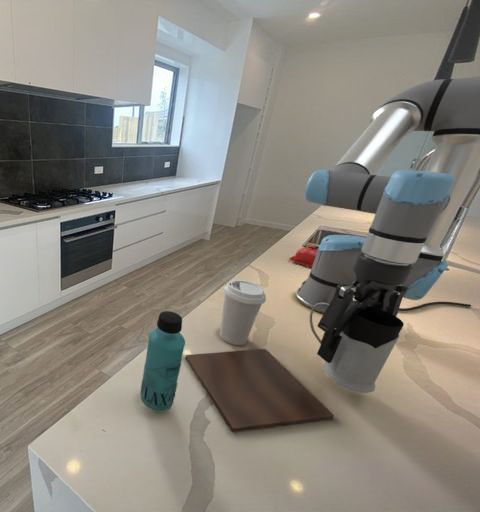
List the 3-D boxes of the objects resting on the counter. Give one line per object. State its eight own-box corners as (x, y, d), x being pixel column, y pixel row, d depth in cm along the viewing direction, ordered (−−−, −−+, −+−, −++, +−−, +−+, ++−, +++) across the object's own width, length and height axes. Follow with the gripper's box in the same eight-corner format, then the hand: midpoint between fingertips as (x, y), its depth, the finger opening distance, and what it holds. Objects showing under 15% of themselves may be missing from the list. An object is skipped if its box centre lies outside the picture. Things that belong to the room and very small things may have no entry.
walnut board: (264, 351, 74) (265, 348, 73) (332, 419, 56) (334, 415, 56) (185, 358, 70) (185, 355, 70) (232, 432, 53) (233, 428, 52)
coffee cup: (220, 322, 85) (231, 274, 79) (256, 336, 79) (271, 286, 74) (208, 337, 78) (220, 286, 72) (247, 354, 72) (263, 301, 67)
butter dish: (296, 256, 139) (301, 239, 135) (325, 264, 130) (332, 246, 127) (286, 261, 132) (292, 243, 128) (317, 271, 124) (323, 252, 120)
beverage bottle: (131, 403, 57) (142, 315, 50) (152, 385, 62) (164, 301, 54) (160, 425, 53) (176, 333, 46) (179, 404, 58) (197, 317, 50)
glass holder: (369, 400, 57) (404, 335, 51) (288, 358, 67) (310, 300, 61) (379, 379, 62) (412, 318, 56) (303, 343, 72) (324, 288, 66)
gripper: (408, 249, 60) (365, 341, 68) (319, 252, 56) (285, 348, 65) (456, 264, 53) (401, 364, 62) (357, 268, 49) (314, 374, 58)
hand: (341, 356), depth 63 cm, fingers closed on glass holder, 8 cm apart
